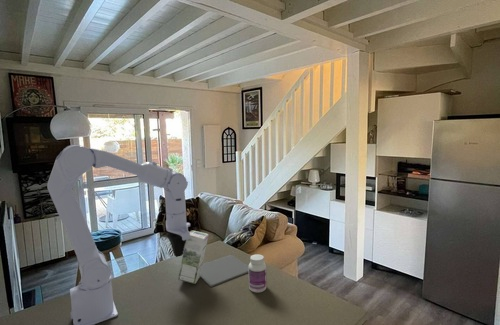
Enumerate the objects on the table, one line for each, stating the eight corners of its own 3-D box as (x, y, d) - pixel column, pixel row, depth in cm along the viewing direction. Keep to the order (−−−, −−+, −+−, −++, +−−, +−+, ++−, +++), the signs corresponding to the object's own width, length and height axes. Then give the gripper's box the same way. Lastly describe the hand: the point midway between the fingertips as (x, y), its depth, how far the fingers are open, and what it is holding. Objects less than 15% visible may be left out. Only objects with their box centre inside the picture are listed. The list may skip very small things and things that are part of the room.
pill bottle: (269, 290, 79) (269, 259, 78) (252, 295, 77) (252, 262, 76) (262, 281, 84) (261, 251, 83) (246, 285, 82) (245, 254, 81)
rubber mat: (210, 287, 82) (210, 285, 82) (191, 268, 93) (191, 267, 93) (253, 270, 91) (253, 268, 91) (231, 255, 102) (231, 254, 102)
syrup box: (200, 277, 88) (209, 233, 88) (195, 285, 82) (204, 238, 82) (183, 272, 88) (192, 229, 88) (177, 280, 82) (186, 233, 82)
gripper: (198, 214, 77) (201, 260, 79) (179, 204, 89) (182, 244, 90) (174, 220, 73) (177, 267, 75) (158, 208, 85) (160, 250, 86)
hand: (178, 255), depth 82 cm, fingers closed
